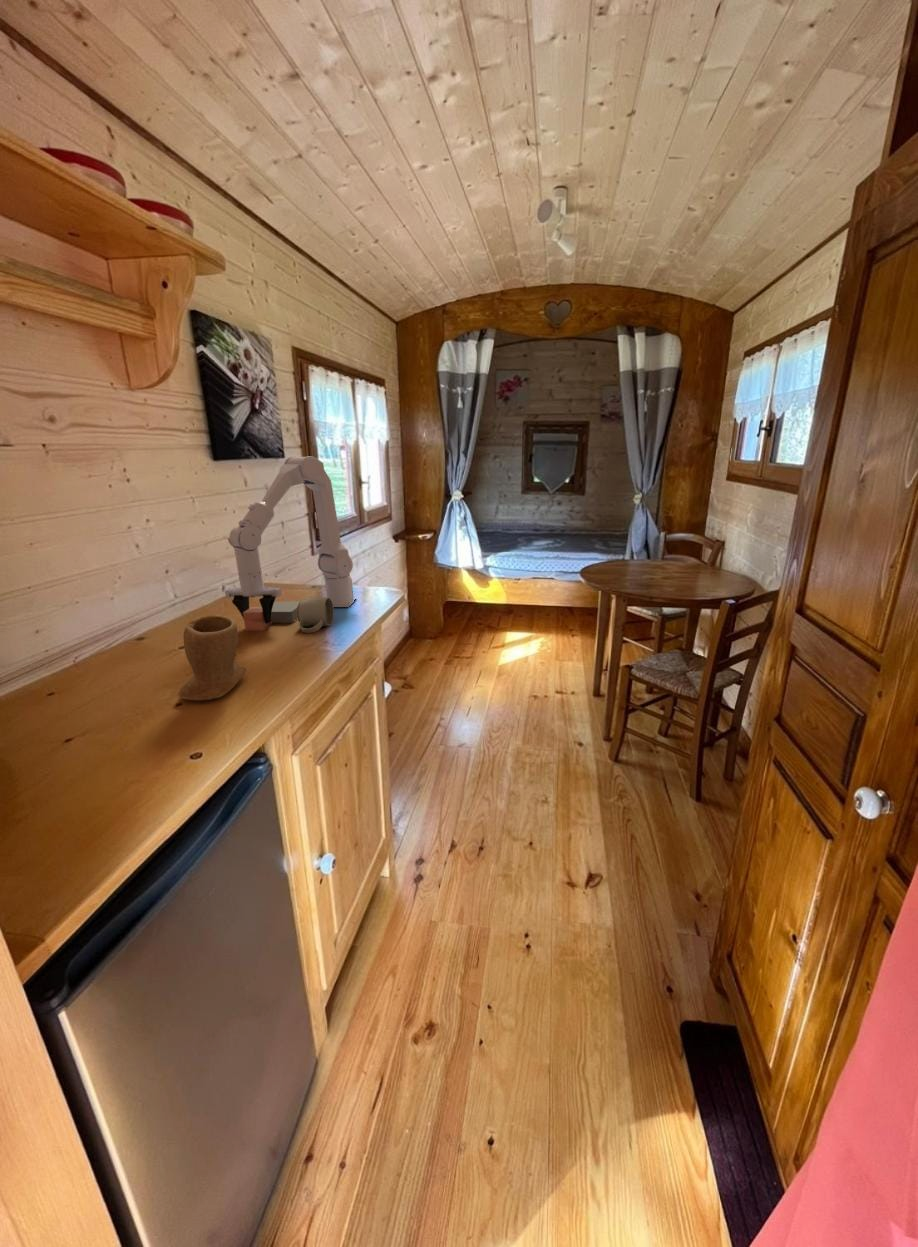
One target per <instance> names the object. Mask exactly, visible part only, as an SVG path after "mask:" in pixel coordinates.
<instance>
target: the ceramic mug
mask: <svg viewBox="0 0 918 1247" xmlns="http://www.w3.org/2000/svg"><path fill="white" fill-rule="evenodd" d="M298 602H299V604H298V606H297V617H298V619H297V620H298V622H299V623H298V626H299V628H300V630H301V632H302V633H305V632H313V633H315V632H317V631H318V630H320V629H321V628H322V627H330V625H331V626H332V625H333V623H334V619H335V608H334V607H333V602H332V600H331V599H330V598H329V597H317V598H315V597H313V598H304V599H302V600H300V601H298ZM303 626H304V627H306V628H304V627H303ZM307 627H309V628H307Z"/></svg>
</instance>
